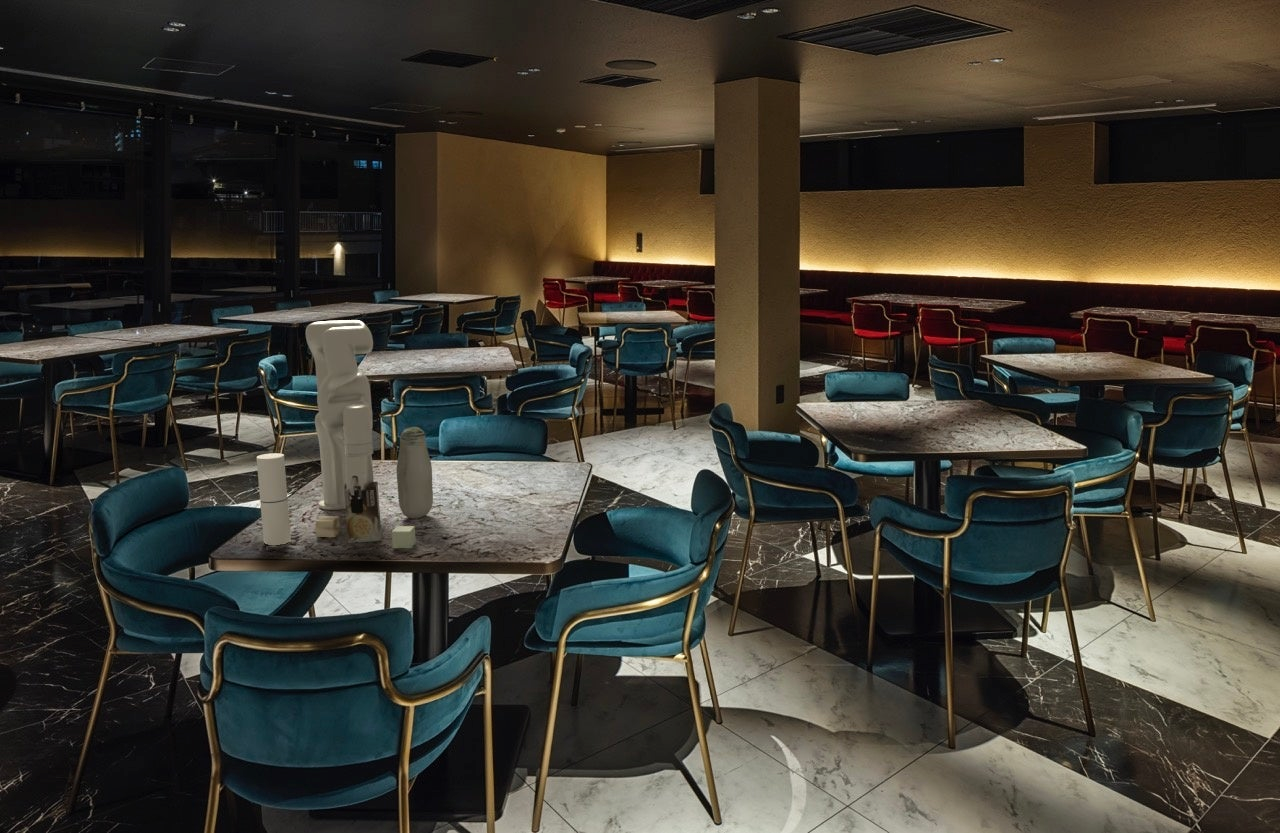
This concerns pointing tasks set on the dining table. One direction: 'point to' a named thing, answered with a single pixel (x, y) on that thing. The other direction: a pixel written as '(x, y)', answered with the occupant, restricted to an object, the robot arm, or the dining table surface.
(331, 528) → the birch block
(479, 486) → the dining table surface
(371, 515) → the coffee box
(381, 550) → the dining table surface
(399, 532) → the sage block
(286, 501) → the cylindrical container
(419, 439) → the grey bottle
